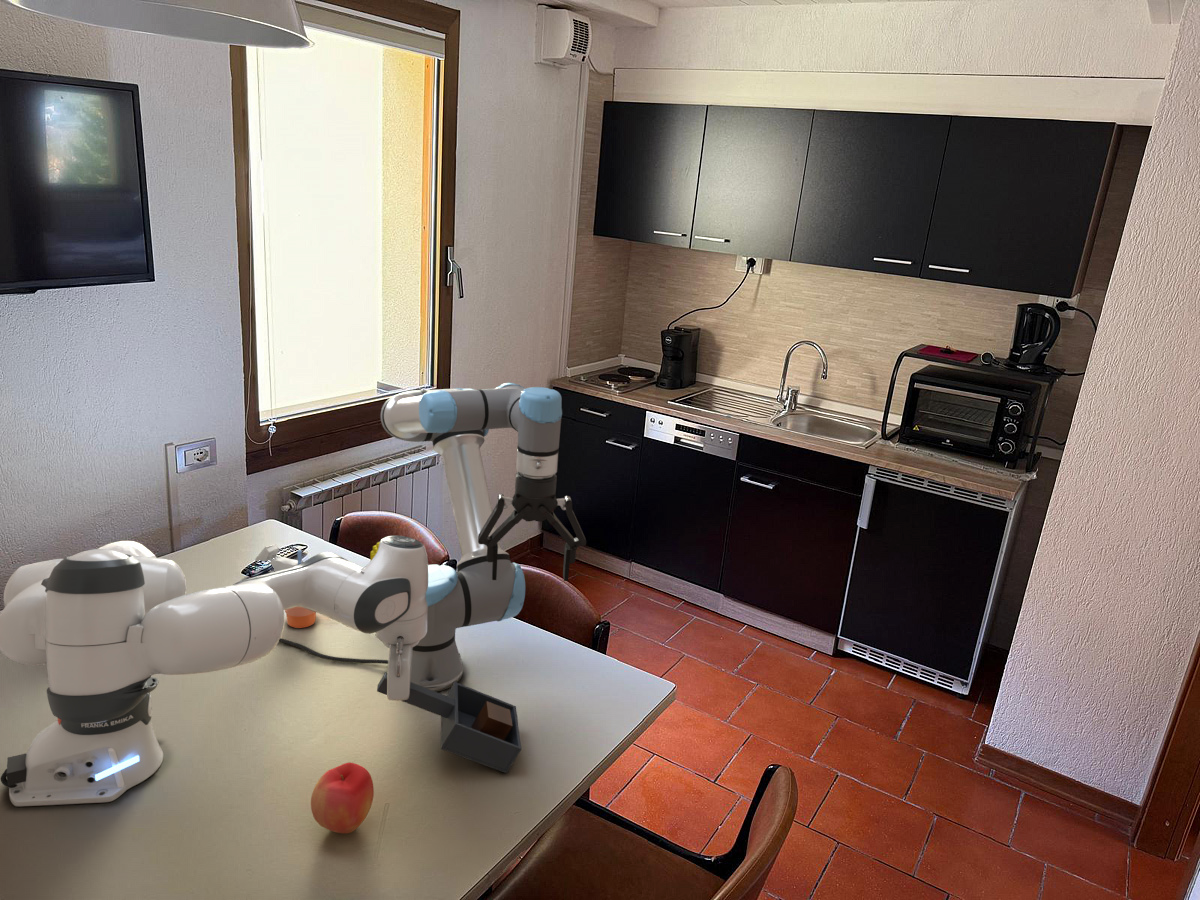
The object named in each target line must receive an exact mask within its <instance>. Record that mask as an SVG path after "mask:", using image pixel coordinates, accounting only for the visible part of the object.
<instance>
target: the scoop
mask: <svg viewBox="0 0 1200 900" xmlns="http://www.w3.org/2000/svg"><path fill="white" fill-rule="evenodd" d="M387 673H388V671H387V672H385V671H384V673H383V674H382V676H381V678H380V680H379V682H378V683H377V689H376V692H378V693H380V694H382V695H385V696H387ZM400 701H401V702H403V703H405V704H408V705H411V706H414V707H417V708H419V709H421V710H424V711H427V712H429V713H431V714H434V715H437V716H440V750H443V751H445V752H447V753H450V754H453V755H456V756H459V757H462V758H464V759H467V760H470V761H472V762H475V763H477V764H481V765H483V766H486V767H488V768H491V769H493V770H497V771H498V772H502V773H505V774H508V772H509V770H510V769H511V767H512V766H513V764H514V762H515V761H516V759H517V757H518V756H519V754H520V752H521V751H522V743H521V735H520V728H519V720H518V719H519V718H518V712H517V706H516V705H514V704H512V703H509V702H507V701H504V700H502V699H500V698H496V697H494V696H491V695H490V694H486V693H485V692H481V691H479V690H476V689H474V688H472V687H469V686H467V685H464V684H461V683H459V682H457V683H456V682H454V684H453V686H451V687H450V688H449V691H448V693H447V694H446V695H445V694H442V693H440V692H435V691H432V690H430V689H427V688H425V687H422V686H420V685H417V684H414V683H412V682H410V695H409V698H408V699H407V700H400ZM486 701H488V702H490V703H493V704H496V705H498V706H501V707H504V708H506V709H509V710H510V714H511V720H512V728H511V730H510V731H509V733H508V734H507V736H506V738H505V739H504V740H501V739H498V738H496V737H493V736H491V735H488V734H485V733H483V732H480V731H478V730H475V729H472V727H471V726H472V724H473V723H474V721H475V719H476V718H477V716H478V714H479V713H480V711H481V709H482V708H483V706H484V705H485V703H486Z"/></svg>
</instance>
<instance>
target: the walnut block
mask: <svg viewBox="0 0 1200 900" xmlns="http://www.w3.org/2000/svg"><path fill="white" fill-rule="evenodd" d="M471 727H472V729H475V730H478V731H480V732H483V733H485V734H488V735H491V736H493V737H496V738H498V739H501V740H504V739H505V738H506V736H507V734H508V733H509V731H510V730H511V728H512V720H511V714H510V710H509V709H506V708H504V707H501V706H498V705H496V704H493V703H490V702H488V701H486V703H485V705H484V706H483V708H482V709H481V711H480V713H479V714H478V716H477V718H476V719H475V721H474V723H473V724H472V726H471Z"/></svg>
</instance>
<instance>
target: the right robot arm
mask: <svg viewBox="0 0 1200 900" xmlns="http://www.w3.org/2000/svg"><path fill="white" fill-rule="evenodd" d="M380 410H381V411H380V422H381V426H382V427H383V429H384V431H385V432H386V433H387V434H388V435H390V437H392V438H394V439H397V440H399V441H400V440H401V441H404V442H411V443H412V442H413V443H419V442H422V443H423V442H432V446H433V451H434V452H435V453H436V454H438V455H440V456H441V457H442V462H443V467H444V471H445V477H446V482H447V487H448V488H447V489H448V493H449V498H450V502H451V503H450V504H451V508H452V513H453V518H454V523H455V527H456V533H457V539H458V544H459V548H460V553H461V558H460V559H459V560H458V562H457V563H456V569H457V571H456V569H455V568H453V567H451V566H449V565H446V564H441V565H439V564H438V563H437V564H435V563H434V564H428V589H427V591H426V601H427V605H428V616H427V634H426V635H425V637H424V638H422V639H421V640H420V641H419V643H418V644H417V645H416V646H414V647H413V652H412V667H411V682H412V683H414V684H417V685H420V686H422V687H425V688H427V689H430V690H432V691H435V692H437V693H439V692H441V691H445V690H447V689H451V687H452V686H453V684H454V682H456V683H459V681H460V680H461V679H462V676H463V672H464V664H463V660H462V657H461V653H460V652H459V649H458V646H457V642H456V629H459V628H465V627H471V626H476V625H482V624H486V623H492V622H502V621H504V620H507V619H511V618H514V617H516V616H518V615H519V614H520V612H522V609H523V606H524V602H525V598H526V579H525V574H524V571H523V569H522V566H521V565H520V564H519V563H516V562H512V561H511V556H510V554H509V552H507V551H505V550H503V548H501V543H500V541H501V540H502V539H504V537H505V536H506V535H507V534H508V533H509V532H510V531H511V530H512V529H513V528H514V527H515V526H516V525H517V524H520V522H521V521H522V520H523V521H525V522H533V521H535V522H538V523H539V522H540V523H541V522H542V523H543V521H548V523H549V524H550V525H551V526H552V527H553V528H554V530H555V531H556V532H557V533H558V534H559V535H560V537H561V538H562V539H563V541H565V544H564V555H563V567H562V568H563V569H562V577H563V582H568V581H569V575H570V564H575V562H576V556H577V550H578V548H579V547H585V546H586V545H587V539H586V536H585V534H584V532H583V529H582V527H581V525H580V523H579V521H578V519H577V516H576V515H575V512H574V509H573V502H572V498H571V496H570V495H565V496H564V497H561V498H557V496H556V494H557V493H556V492H557V481H558V479H557V478H558V477H557V473H558V465H559V464H558V463H559V450H560V449H559V448H560V438H561V437H560V436H561V425H562V417H563V408H562V395H561V393H560V392H559V391H558V390H555V389H551V388H549V387H541V386H533V387H532V386H531V387H527V388H526V387H524V386H522V385H520V384H517V383H515V382H505V383H502V384H499V385H498V386H496V387H495V388H482V389H481V388H480V389H474V388H462V387H454V388H443V389H441V388H440V389H421V390H419V389H417V390H408V391H404V392H400V393H398V394H395V395H393V396H391V397H389V398H388V399H387V400H386V401H385V402H384V403H383V405H382V407H381V409H380ZM494 429H495V430H497V429H513V430H514V431H516V432H517V446H516V447H517V449H516V463H515V464H516V466H515V469H516V471H517V472H516V473H515V484H514V494H513V496H512V497H511V496H505V495H504V494H503V493H499V494H498V495H497V499H496V503H495V506H494V508H493V506H492V500H491V496H490V492H489V491H490V490H489V487H488V481H487V477H486V472H485V469H484V463H483V457H482V454H481V447H482V446H483V444H484V443H485V441H486V440H485V437H486V436H487V435H488V433H489V431H490V430H494ZM510 505H512V507H513V508H514V510H513V511H512V512H511V514H510V515H508V517H507V518H506V519H505V520H504V521H503V522H502V523H501V524H499V526H498V527H497V525H496V524H497V522H498V521H499V519H500V518H501V516H502V513H503V511H504V510H505V509H507V508H508V507H509V506H510ZM558 506H560V508H561V510H562V511H565V513H566V516H567V519H568V521H569V522H570V525H571V528H572V529H573V531H574V534H575V536H576V537H574V536H573V535H572V534H571V533H570V532H569V530H568V529H567V528H566V527H565V526H564V524H563V523H562V521H561V520H560V519H559V518H558V517H557V515H556V513H554V510H556V508H557V507H558ZM278 643H283V644H285V645H289V646H292V647H295V648H298V649H301V650H303V651H305V652H306V653H309V654H311V655H312V656H316V657H318V658H321V659H325V660H329V661H335V662H344V663H355V664H357V663H359V664H385V665H388V659H373V658H372V659H370V658H369V659H367V658H366V659H365V658H351V657H338V656H332V655H327V654H323V653H320V652H317V651H315V650H313V649H312V648H309V647H308V646H306V645H303V644H302V643H301V644H300V643H298V642H295V641H291V640H288V639H284V638H282V637H281V638H280V640H279V642H278Z"/></svg>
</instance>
